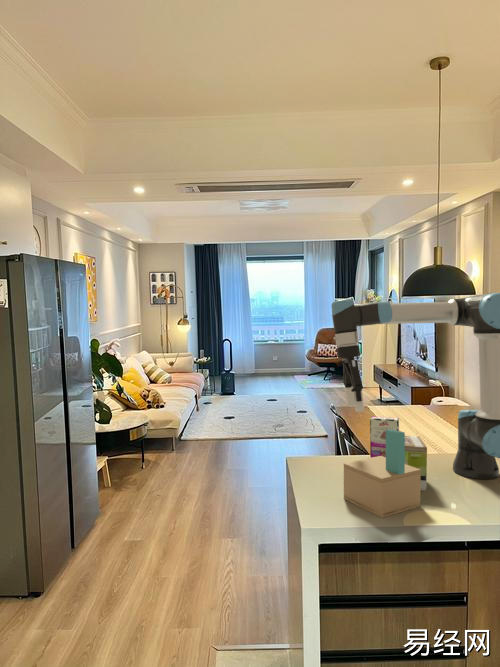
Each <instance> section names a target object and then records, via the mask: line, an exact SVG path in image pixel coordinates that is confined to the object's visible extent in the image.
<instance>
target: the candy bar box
mask: <svg viewBox="0 0 500 667" xmlns="http://www.w3.org/2000/svg"><path fill="white" fill-rule="evenodd" d="M369 429H370V431H369V433H370V434H369V438H370V439H369V441H370V445H369V446H370V447H369V448H370V450H369V452H370V457H369V458H372V457H377V456H383V457H386V430H389V429H393V430H397V431H400V418H399V417H391V416H371V417H370V418H369Z"/></svg>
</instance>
